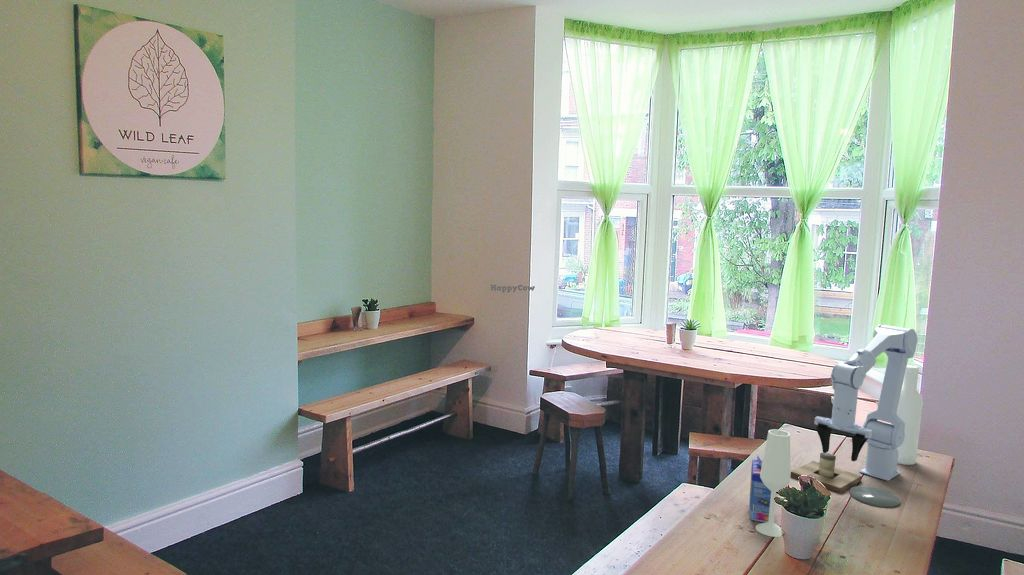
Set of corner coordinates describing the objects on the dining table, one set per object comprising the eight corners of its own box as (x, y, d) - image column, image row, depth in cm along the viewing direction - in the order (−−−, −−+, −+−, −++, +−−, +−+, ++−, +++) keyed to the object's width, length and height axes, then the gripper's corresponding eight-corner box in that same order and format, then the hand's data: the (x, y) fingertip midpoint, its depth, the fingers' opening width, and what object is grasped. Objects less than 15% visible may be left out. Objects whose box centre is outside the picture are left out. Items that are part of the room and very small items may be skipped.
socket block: (812, 465, 204) (813, 460, 203) (861, 480, 193) (861, 475, 193) (790, 476, 194) (790, 471, 194) (839, 493, 184) (840, 487, 184)
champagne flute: (782, 525, 164) (791, 429, 161) (787, 538, 157) (797, 439, 154) (753, 521, 165) (762, 426, 162) (757, 534, 159) (766, 435, 156)
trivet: (860, 484, 191) (860, 482, 190) (906, 499, 182) (907, 497, 182) (842, 495, 183) (842, 493, 183) (889, 511, 174) (889, 509, 174)
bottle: (886, 461, 209) (897, 367, 206) (886, 453, 216) (897, 362, 213) (916, 467, 206) (928, 371, 202) (915, 459, 212) (926, 366, 209)
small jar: (821, 474, 197) (823, 451, 196) (835, 479, 194) (838, 455, 193) (815, 478, 194) (817, 454, 193) (829, 482, 191) (832, 459, 190)
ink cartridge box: (747, 503, 175) (752, 450, 173) (770, 507, 173) (775, 453, 172) (748, 520, 166) (752, 463, 164) (772, 524, 164) (777, 467, 162)
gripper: (811, 404, 186) (806, 451, 188) (866, 417, 175) (861, 467, 177) (822, 399, 191) (818, 446, 192) (877, 412, 180) (872, 461, 182)
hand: (839, 456), depth 185 cm, fingers open, 7 cm apart
